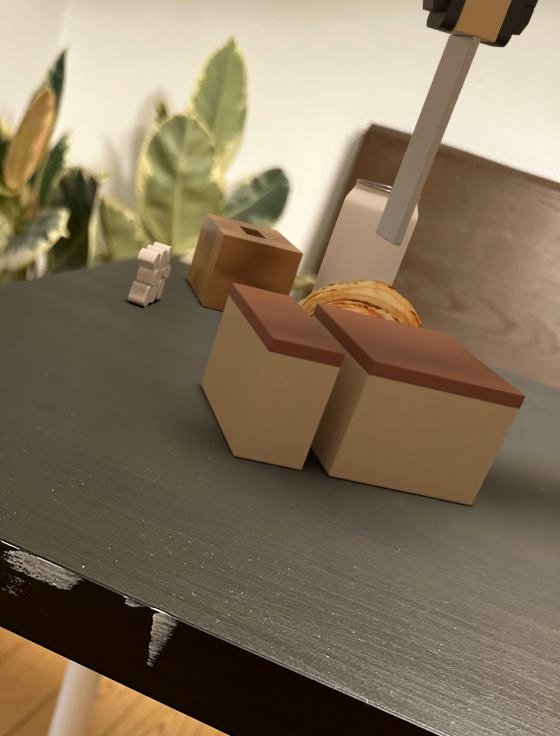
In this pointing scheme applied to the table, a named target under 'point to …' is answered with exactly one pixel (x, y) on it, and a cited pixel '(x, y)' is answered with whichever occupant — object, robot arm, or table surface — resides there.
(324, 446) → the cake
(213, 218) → the knife block
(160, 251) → the marshmallow
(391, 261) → the can
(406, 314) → the croissant
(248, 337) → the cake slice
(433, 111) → the knife
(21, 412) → the table surface
